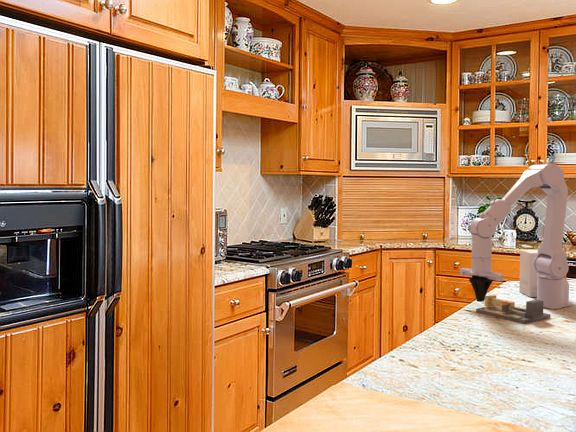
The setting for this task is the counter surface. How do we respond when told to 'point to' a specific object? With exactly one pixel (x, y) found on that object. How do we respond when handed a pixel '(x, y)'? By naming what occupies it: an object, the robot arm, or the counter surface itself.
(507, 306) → the orange and grey block
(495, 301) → the wooden u-shaped cradle
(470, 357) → the counter surface
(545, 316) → the gauge base
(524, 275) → the supplement box
